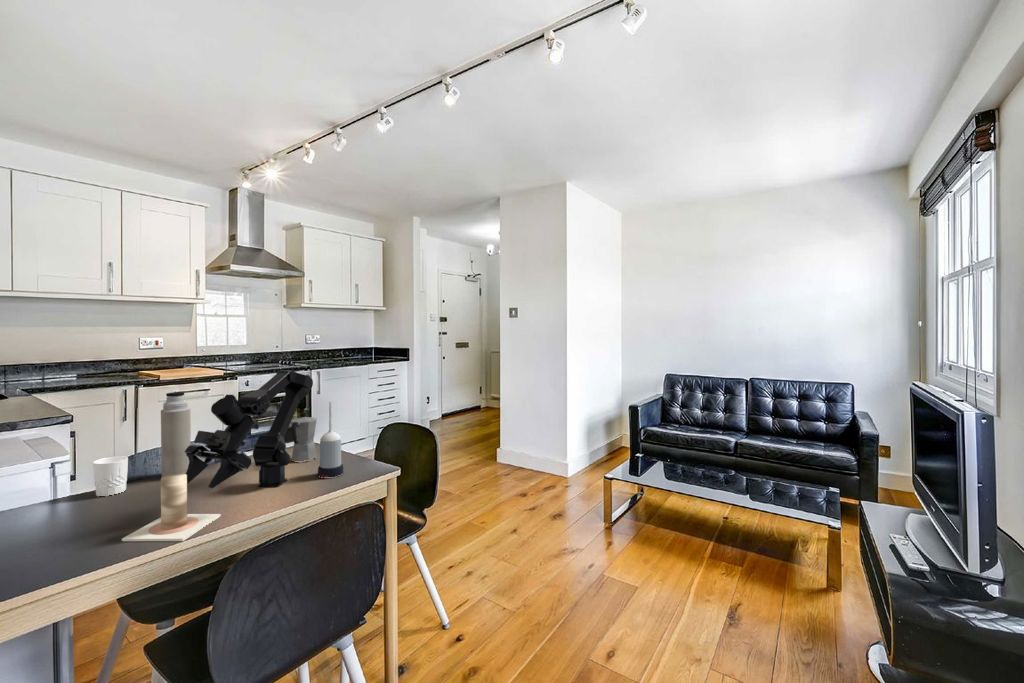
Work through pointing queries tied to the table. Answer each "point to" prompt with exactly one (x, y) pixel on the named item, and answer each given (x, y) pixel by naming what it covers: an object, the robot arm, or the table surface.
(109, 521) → the table surface
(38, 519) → the table surface
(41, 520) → the table surface
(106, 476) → the white cup
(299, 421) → the coffeepot
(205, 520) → the card
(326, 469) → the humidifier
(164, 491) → the wooden tube
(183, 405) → the thermos bottle
